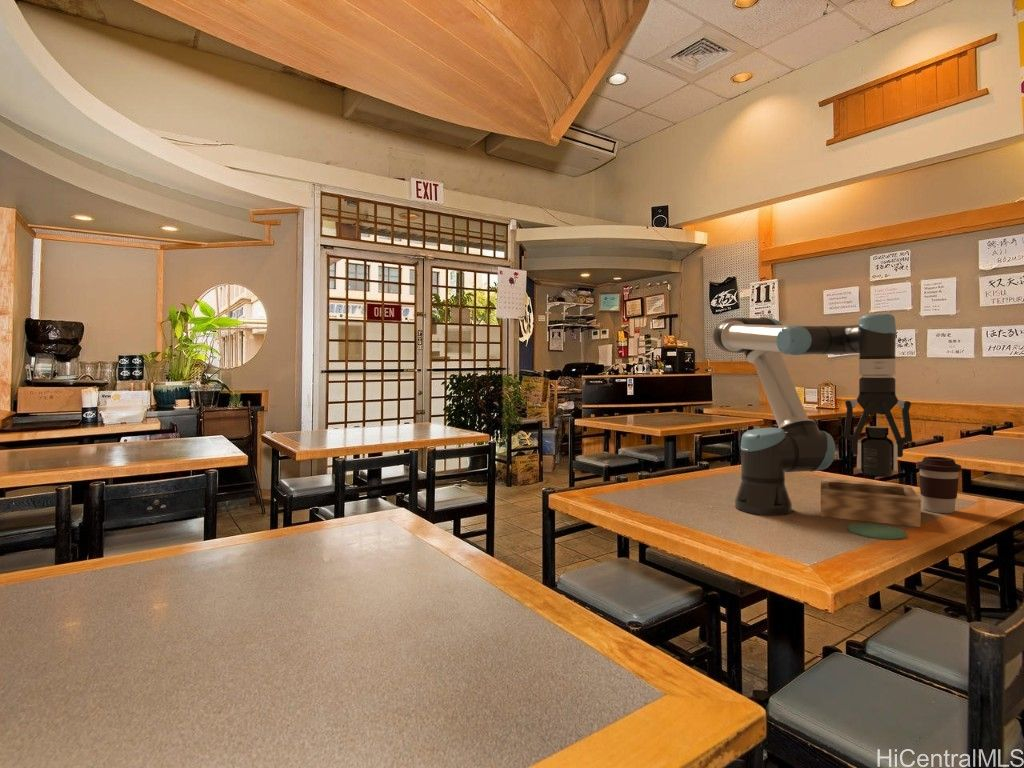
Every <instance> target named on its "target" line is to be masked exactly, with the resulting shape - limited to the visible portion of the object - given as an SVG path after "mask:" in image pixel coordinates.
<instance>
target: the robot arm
mask: <svg viewBox="0 0 1024 768" xmlns="http://www.w3.org/2000/svg"><path fill="white" fill-rule="evenodd" d="M896 337H897V328H896V318H895V316H894V315H893V314H891V313H873V314H865V315H862V316H859V320H858V324H853V325H850V324H849V325H783V324H782V322H780V320H778V319H775V318H773V317H772V318H771V317H765V316H764V317H763V316H761V317H731V318H730V317H729V318H727V319H726V318H725V319H724V320H722V321H720V322H719V323H717V324H716V326H715V327H714V330H713V334H712V339H713V343H714V344H715V346H716V347H717V348H718V349H720V350H721V351H724V352H726V353H737V354H738V353H743V354H744V355H745V358H746V361H747V362H748V363H749V364H753V365H754V367H755V370H756V373H757V375H758V377H759V380H760V383H761V385H762V388H763V391H764V394H765V396H766V399H767V401H768V403H769V406H770V409H771V411H772V414H773V416H774V419H775V421H776V424H777V426H778V427H761V428H754V429H750V430H749V429H748V430H746V431H745V432H744V433H743V434H742V436H741V441H740V442H741V443H740V460H741V463H740V466H741V467H740V470H741V473H740V474H741V477H740V478H741V482H740V485H739V487H738V489H737V493H736V496H735V500H734V507H735V508H736V509H737V510H739V511H742V512H746V513H749V514H755V515H763V516H782V515H788V514H790V513H792V512H793V511H792V509H793V508H792V507H793V506H792V501H791V498H790V495H789V492H788V490H787V486H786V480H785V479H786V473H797V472H798V473H801V472H809V473H810V472H811V473H812V472H815V471H816V472H817V471H824V470H825V469H828V468H829V467H830V466H831V465H832V464H833V461H834V459H835V458H834V457H835V455H836V443H835V440H834V438H833V436H832V435H831V434H830V433H828V432H827V431H825V430H820V428H819V427H818V424H817V422H816V421H815V420H814V419H811V418H809V417H808V415H807V413H806V410H805V408H804V405H803V402H802V401H801V399H800V396H799V394H798V393H799V392H798V391H797V389H796V387H795V384H794V382H793V379H792V377H791V374H790V372H789V369H788V368H787V366H786V363H785V360H784V359H783V355H791V356H800V355H801V356H803V355H805V356H806V355H835V356H836V355H837V356H838V355H839V356H842V355H844V356H845V355H853V354H859V357H858V365H859V366H858V372H859V373H858V374H859V375H860V376H861V377H860V378H859V379H858V382H859V383H858V384H859V385H858V396H857V397H856V398H855V399H847V400H845V401H844V404H845V408H846V414H845V422H844V428H843V429H844V430H843V438H844V439H845V440H848V441H850V442H851V453H852V455H855V456H856V467H857V469H860V470H861V441H860V440H859V439H860V436H861V434H862V432H863V430H864V429H865V428H864V427H865V425H866V422H867V421H868V418H869V417H870V415H875V414H876V415H884V417H885V418H886V421H887V423H888V426H889V428H890V430H891V432H892V435H893V437H894V439H895V442H893V472H897V471H898V458H902V457H903V456H904V444H906V443H911V442H912V441H913V434H912V426H911V418H910V408H911V405H912V403H911V401H909V400H902V399H898V396H897V395H896V379H895V377H893V376H896V341H897V339H896ZM782 354H783V355H782ZM857 404H859V406H860V407H861V408H862V409H863V411H862V413H861V416H860V418H859V420H858V423H857V426H856V427H855V429H854V432H853V434H852V435H851V429H852V420H853V413H854V412H853V411H854V408H856V405H857ZM896 405H898V408H899V409H901V418H902V425H903V426H902V427H903V434H904V436H903V437H902V434H901V433H900V430H899V428H898V426H897V424H896V422H895V419H894V417H893V414H892V412H891V411H892V409H893V408H894V407H895V406H896Z"/></svg>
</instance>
